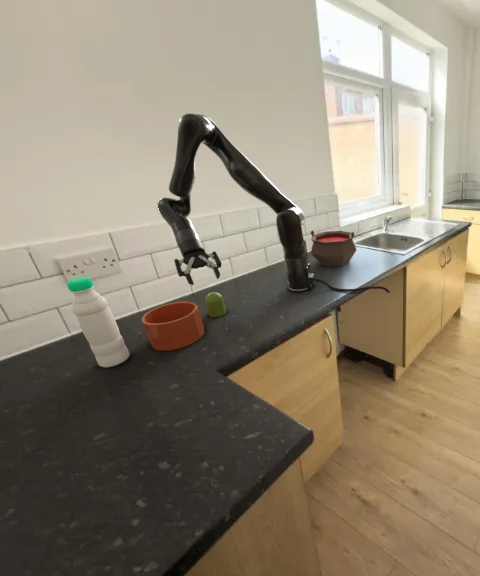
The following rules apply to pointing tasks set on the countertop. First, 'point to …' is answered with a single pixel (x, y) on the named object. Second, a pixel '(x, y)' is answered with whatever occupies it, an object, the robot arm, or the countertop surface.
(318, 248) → the brown cauldron
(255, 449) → the countertop surface
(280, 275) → the countertop surface
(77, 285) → the water bottle
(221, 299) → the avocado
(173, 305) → the pot
